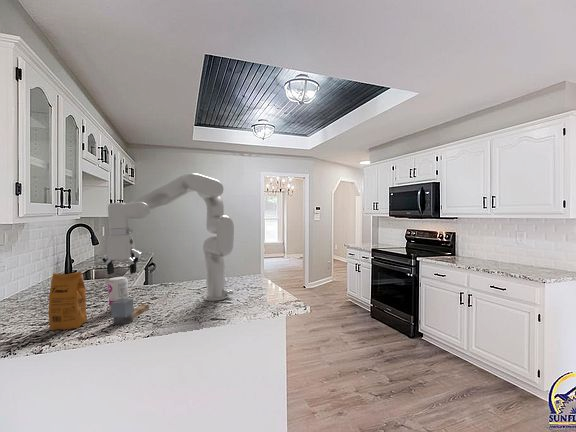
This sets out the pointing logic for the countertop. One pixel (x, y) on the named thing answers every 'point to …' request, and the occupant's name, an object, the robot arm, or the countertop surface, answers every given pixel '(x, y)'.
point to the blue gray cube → (122, 308)
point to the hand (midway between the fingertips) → (122, 273)
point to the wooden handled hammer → (129, 318)
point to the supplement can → (117, 289)
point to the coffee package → (67, 301)
